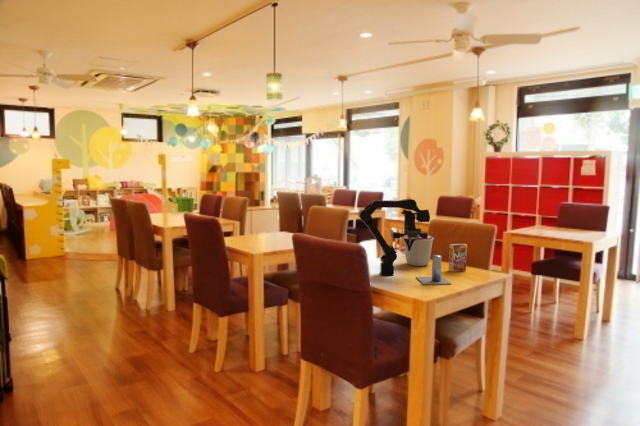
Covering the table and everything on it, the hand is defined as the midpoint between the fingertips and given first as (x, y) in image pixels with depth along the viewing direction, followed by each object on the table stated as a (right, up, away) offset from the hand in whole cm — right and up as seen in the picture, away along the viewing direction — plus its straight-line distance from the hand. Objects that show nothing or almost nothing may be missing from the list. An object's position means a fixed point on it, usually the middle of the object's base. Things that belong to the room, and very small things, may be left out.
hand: (409, 250), depth 240 cm
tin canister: (+11, -14, -15) cm, 23 cm away
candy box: (+29, -12, +11) cm, 34 cm away
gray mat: (+10, -14, -13) cm, 22 cm away
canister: (+11, -11, +27) cm, 31 cm away
